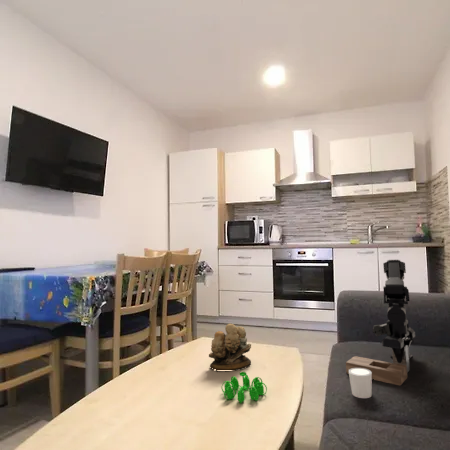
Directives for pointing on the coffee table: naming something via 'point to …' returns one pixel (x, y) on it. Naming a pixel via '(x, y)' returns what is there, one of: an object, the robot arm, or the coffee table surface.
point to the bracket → (405, 358)
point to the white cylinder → (361, 382)
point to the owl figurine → (230, 349)
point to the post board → (380, 369)
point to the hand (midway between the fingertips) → (400, 361)
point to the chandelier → (244, 388)
